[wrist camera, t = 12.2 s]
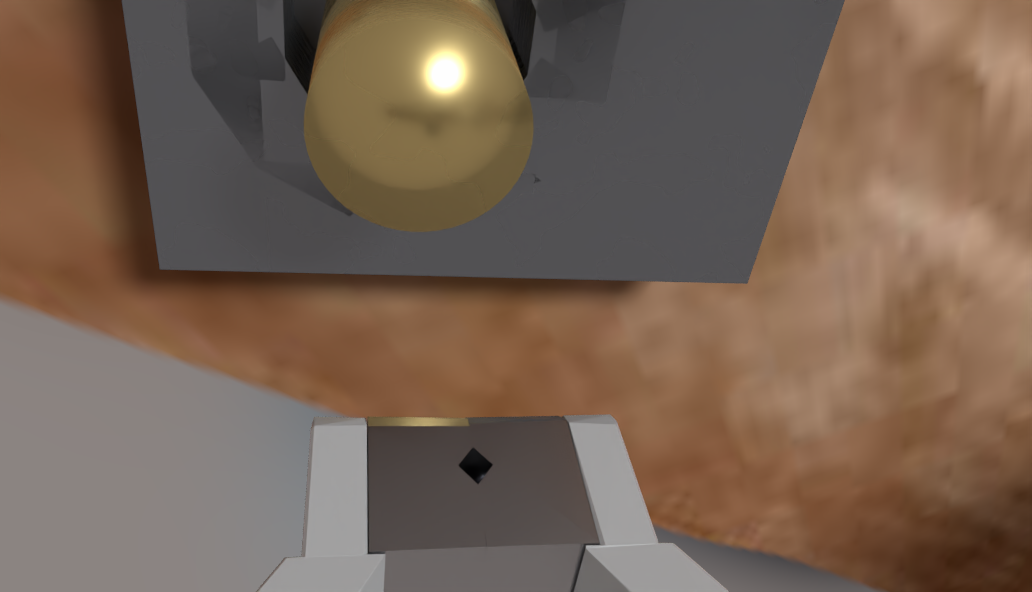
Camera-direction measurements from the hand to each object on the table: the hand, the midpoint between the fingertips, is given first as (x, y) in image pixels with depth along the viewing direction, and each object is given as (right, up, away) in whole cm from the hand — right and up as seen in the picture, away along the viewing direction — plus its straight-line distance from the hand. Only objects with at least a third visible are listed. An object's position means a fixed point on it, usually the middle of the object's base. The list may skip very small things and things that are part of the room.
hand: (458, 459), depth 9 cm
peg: (-2, +9, +13) cm, 16 cm away
